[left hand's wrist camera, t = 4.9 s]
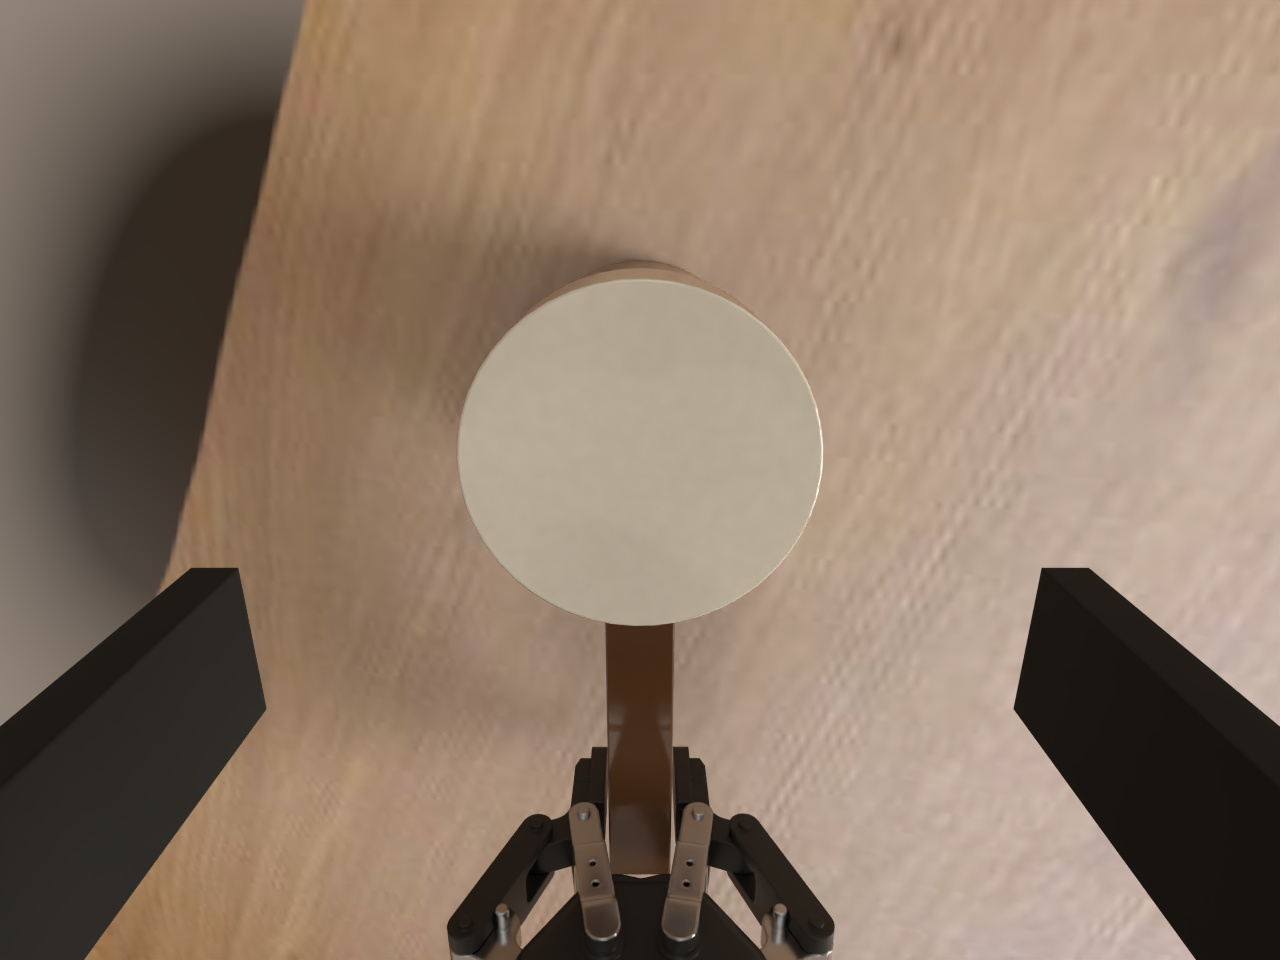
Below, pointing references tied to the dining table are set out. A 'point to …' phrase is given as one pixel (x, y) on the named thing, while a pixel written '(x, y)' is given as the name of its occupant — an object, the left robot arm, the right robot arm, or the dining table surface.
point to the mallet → (640, 728)
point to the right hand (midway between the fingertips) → (640, 763)
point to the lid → (639, 448)
